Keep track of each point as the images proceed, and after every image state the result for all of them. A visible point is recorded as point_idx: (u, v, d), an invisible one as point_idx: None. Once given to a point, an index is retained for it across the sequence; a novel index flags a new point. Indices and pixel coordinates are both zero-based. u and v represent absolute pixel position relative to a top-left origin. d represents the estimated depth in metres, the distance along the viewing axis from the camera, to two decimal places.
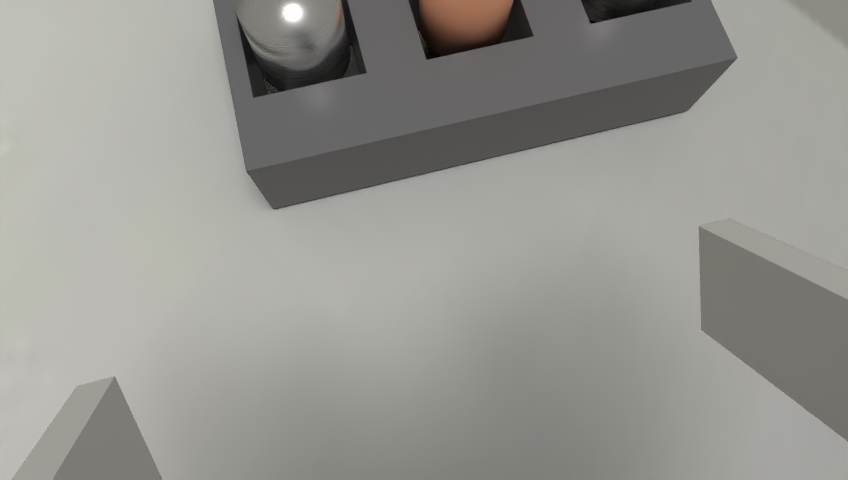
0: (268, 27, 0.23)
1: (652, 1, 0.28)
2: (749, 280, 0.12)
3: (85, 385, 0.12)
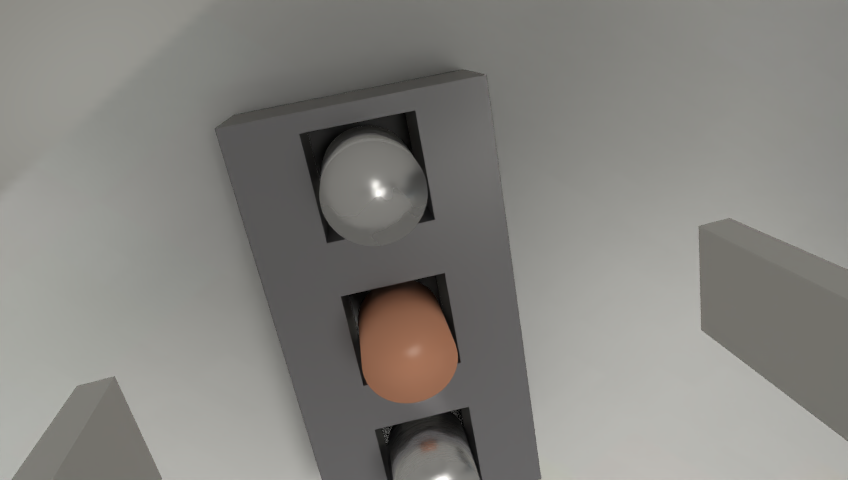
0: None
1: None
2: (749, 280, 0.12)
3: (85, 385, 0.12)
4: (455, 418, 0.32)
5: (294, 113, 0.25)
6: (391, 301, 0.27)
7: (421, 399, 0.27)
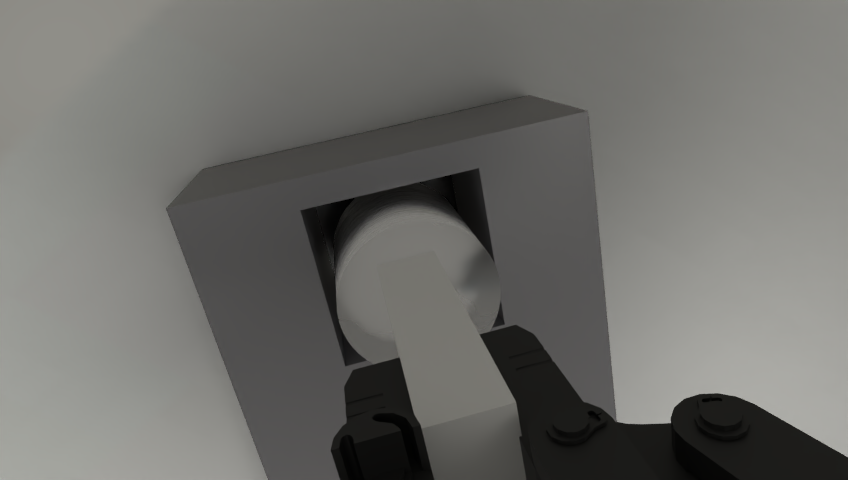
0: None
1: None
2: None
3: (383, 264, 0.14)
4: None
5: (292, 179, 0.16)
6: None
7: None
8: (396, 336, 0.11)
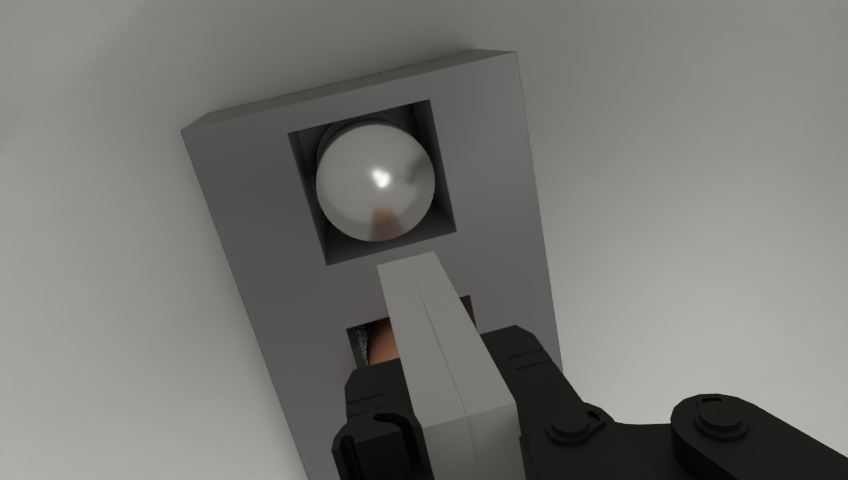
0: None
1: None
2: None
3: (384, 264, 0.14)
4: None
5: (280, 108, 0.20)
6: None
7: None
8: (396, 336, 0.11)
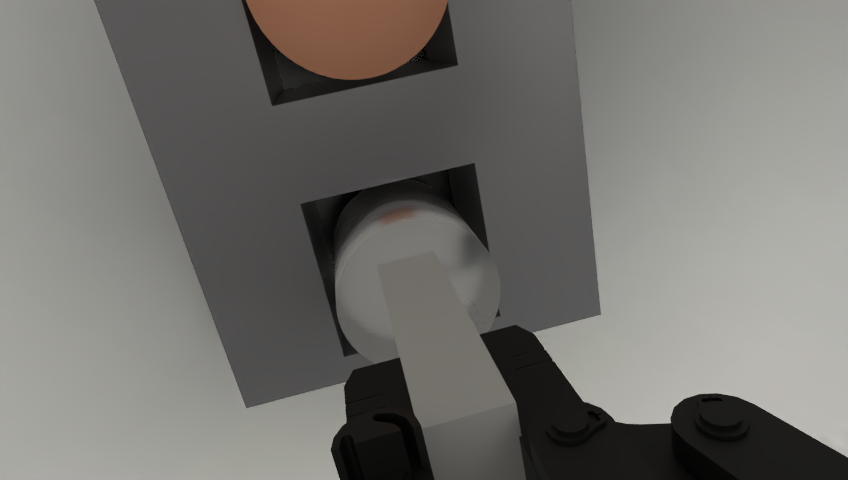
0: (480, 317, 0.16)
1: None
2: None
3: (384, 264, 0.14)
4: (447, 200, 0.19)
5: None
6: None
7: (376, 71, 0.13)
8: (396, 336, 0.11)
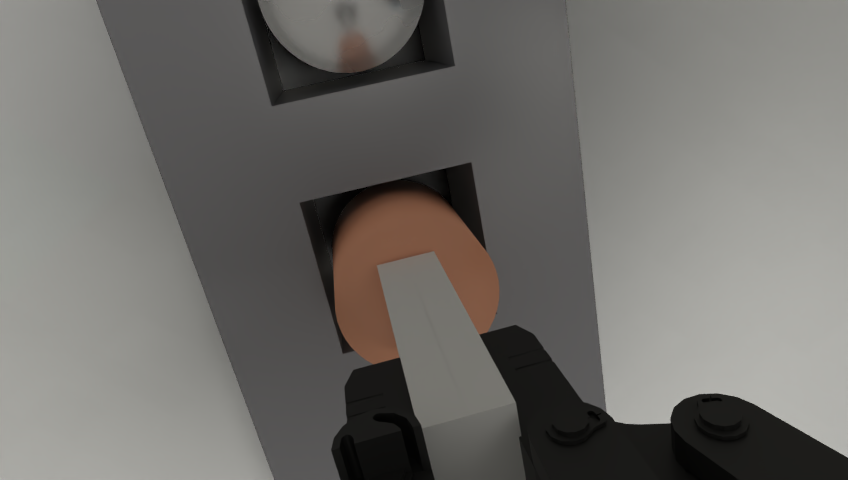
0: None
1: None
2: None
3: (384, 264, 0.14)
4: None
5: None
6: (384, 204, 0.16)
7: None
8: (396, 336, 0.11)
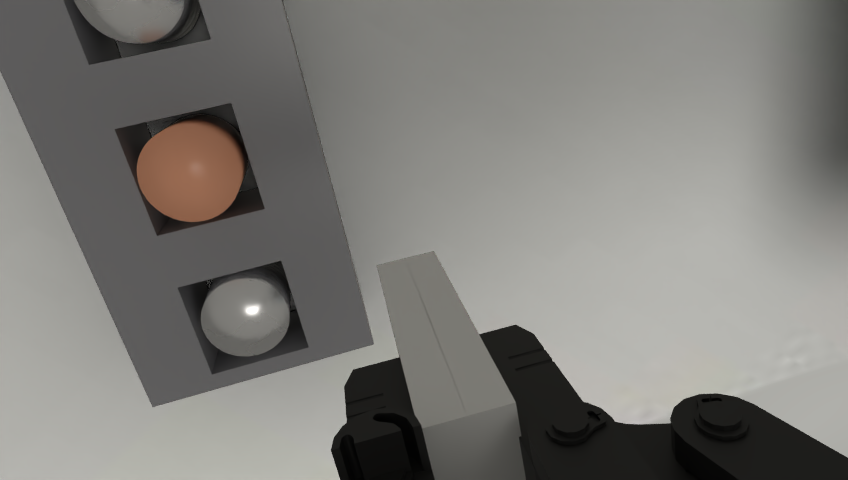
0: (280, 327, 0.30)
1: None
2: None
3: (384, 264, 0.14)
4: None
5: None
6: (176, 123, 0.27)
7: (207, 217, 0.27)
8: (396, 336, 0.11)
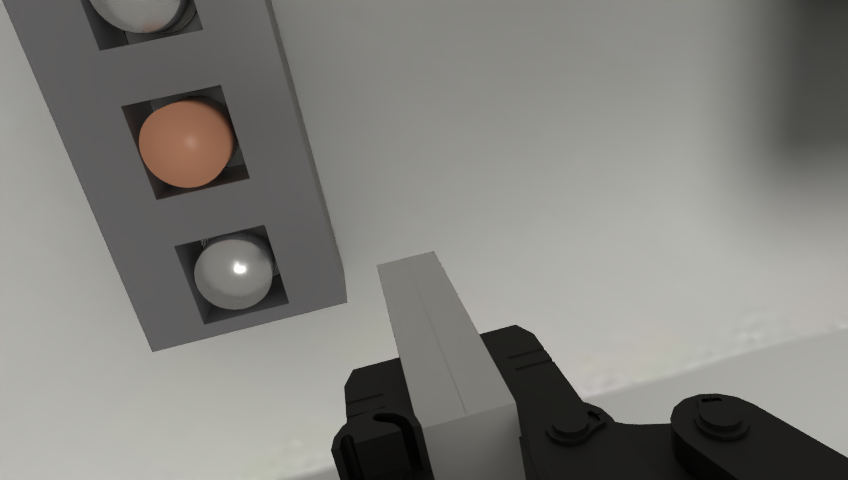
0: (263, 284, 0.34)
1: None
2: None
3: (384, 264, 0.14)
4: (265, 228, 0.37)
5: None
6: None
7: (199, 184, 0.31)
8: (396, 336, 0.11)
